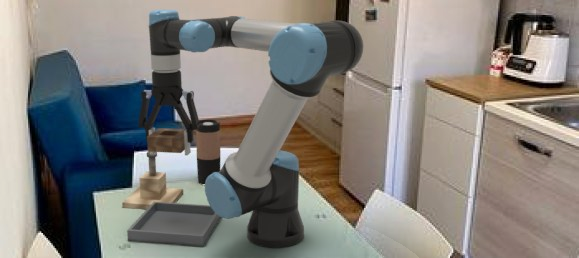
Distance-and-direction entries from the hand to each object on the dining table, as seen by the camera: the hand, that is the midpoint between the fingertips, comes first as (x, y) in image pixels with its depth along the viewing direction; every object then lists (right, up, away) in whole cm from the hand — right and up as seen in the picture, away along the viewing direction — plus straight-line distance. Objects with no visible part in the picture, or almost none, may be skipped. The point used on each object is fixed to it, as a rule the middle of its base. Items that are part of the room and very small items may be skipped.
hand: (170, 153), depth 171 cm
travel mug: (+6, -11, +37) cm, 39 cm away
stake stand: (-9, -15, +20) cm, 27 cm away
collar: (0, +1, 0) cm, 2 cm away
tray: (+2, -20, +1) cm, 20 cm away
